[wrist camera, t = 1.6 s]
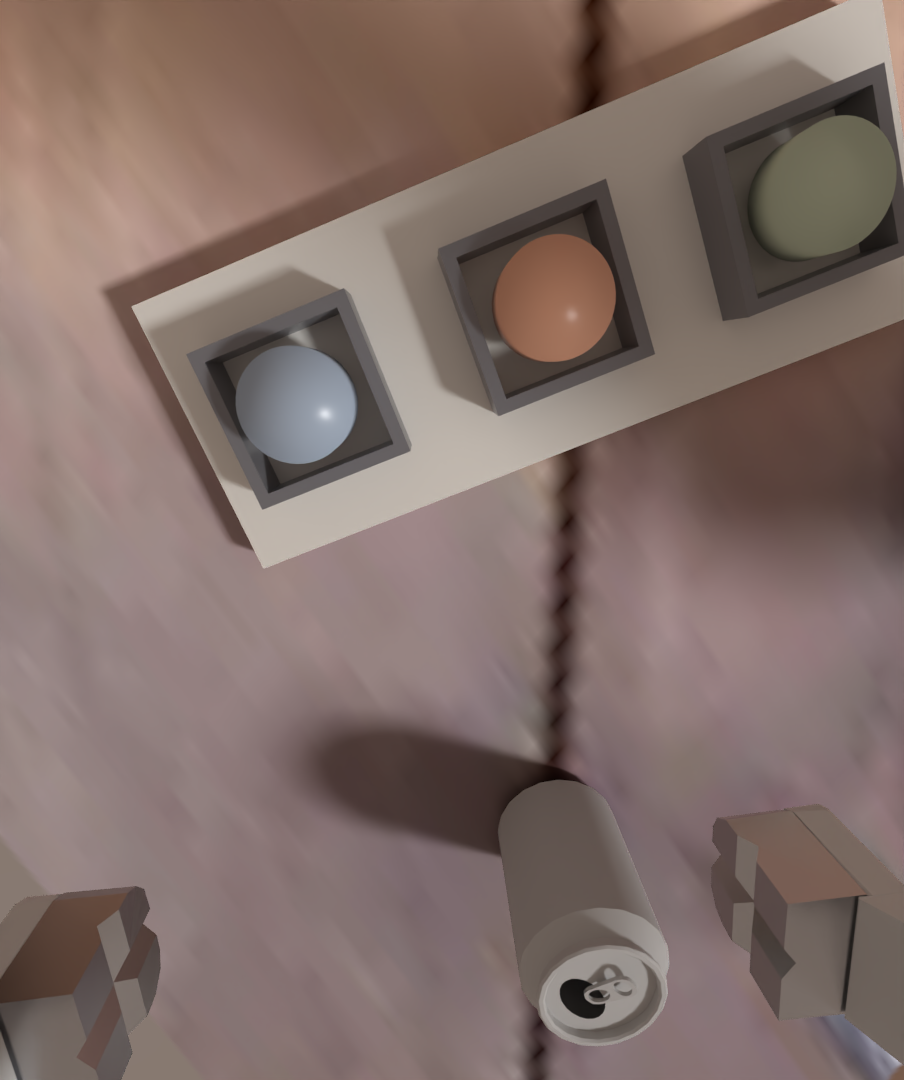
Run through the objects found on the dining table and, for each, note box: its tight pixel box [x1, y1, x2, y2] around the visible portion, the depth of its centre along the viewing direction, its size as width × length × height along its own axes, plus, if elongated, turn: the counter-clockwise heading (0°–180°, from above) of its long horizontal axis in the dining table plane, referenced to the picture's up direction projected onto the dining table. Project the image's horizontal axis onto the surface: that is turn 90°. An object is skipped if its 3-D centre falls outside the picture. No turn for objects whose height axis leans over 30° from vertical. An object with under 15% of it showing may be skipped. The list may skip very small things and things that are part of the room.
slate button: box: [236, 346, 358, 464], centre depth 28 cm, size 5×5×2 cm
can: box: [498, 780, 669, 1046], centre depth 34 cm, size 8×8×12 cm
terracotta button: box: [492, 234, 616, 362], centre depth 27 cm, size 5×5×2 cm
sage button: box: [747, 115, 897, 262], centre depth 26 cm, size 5×5×2 cm
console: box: [131, 0, 904, 569], centre depth 29 cm, size 36×14×4 cm, turn 111°
